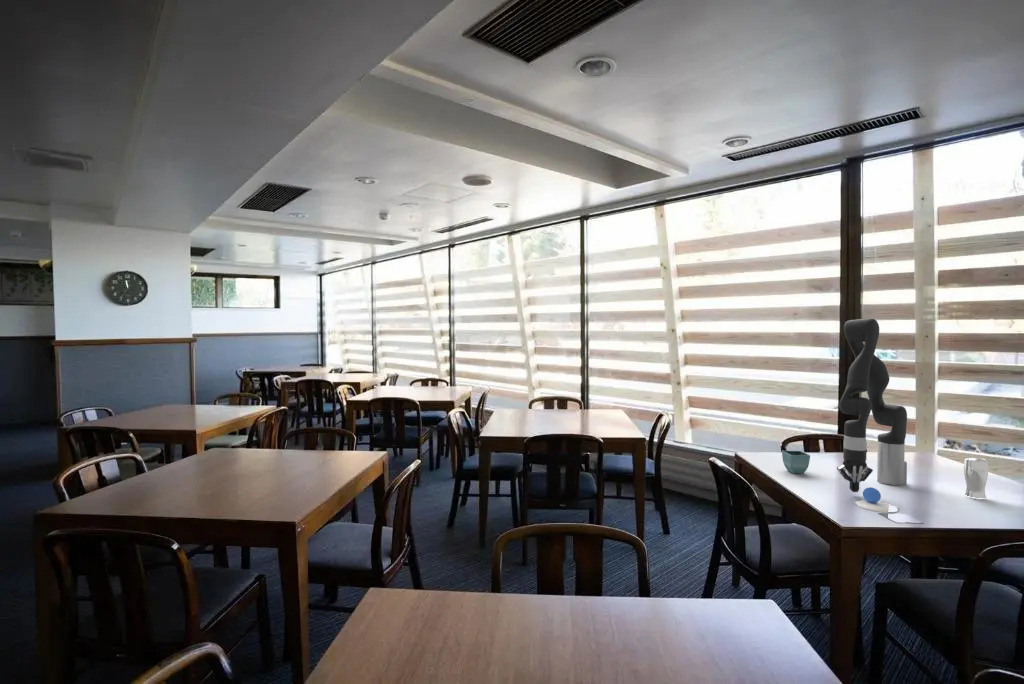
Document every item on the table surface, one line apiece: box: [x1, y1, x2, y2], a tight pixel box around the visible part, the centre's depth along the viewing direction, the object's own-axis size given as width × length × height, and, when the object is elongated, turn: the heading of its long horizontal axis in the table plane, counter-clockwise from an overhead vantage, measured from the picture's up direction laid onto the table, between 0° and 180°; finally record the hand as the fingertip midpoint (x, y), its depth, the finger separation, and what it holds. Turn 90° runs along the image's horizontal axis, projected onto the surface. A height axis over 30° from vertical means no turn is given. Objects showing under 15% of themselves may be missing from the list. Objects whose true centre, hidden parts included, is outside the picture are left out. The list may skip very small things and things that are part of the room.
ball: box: [862, 487, 882, 503], centre depth 191 cm, size 6×6×6 cm
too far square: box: [877, 512, 888, 519], centre depth 174 cm, size 9×9×1 cm
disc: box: [855, 499, 893, 513], centre depth 186 cm, size 13×13×1 cm
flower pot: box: [781, 450, 811, 474], centre depth 233 cm, size 9×9×9 cm
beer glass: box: [963, 456, 989, 499], centre depth 196 cm, size 7×7×15 cm
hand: (854, 491), depth 199 cm, fingers closed
